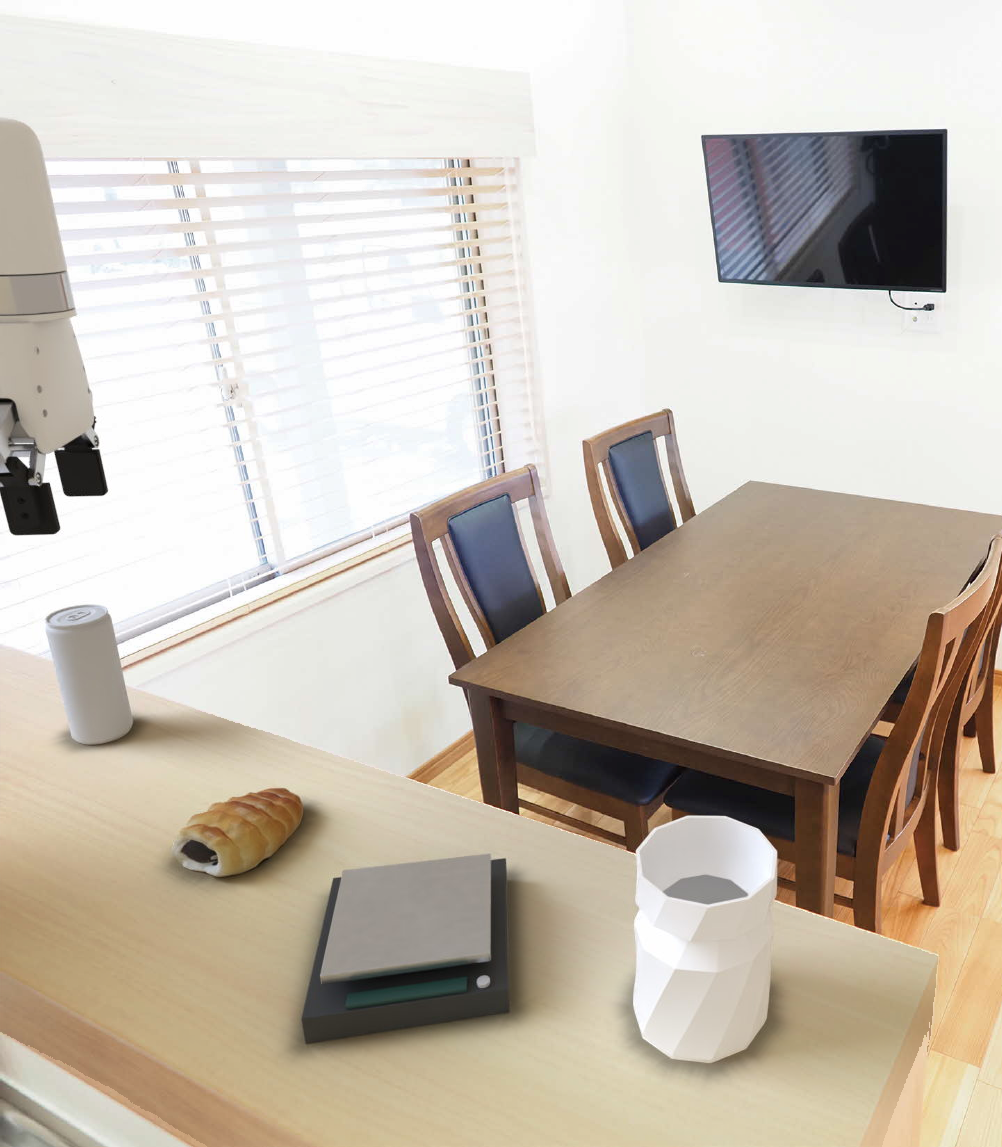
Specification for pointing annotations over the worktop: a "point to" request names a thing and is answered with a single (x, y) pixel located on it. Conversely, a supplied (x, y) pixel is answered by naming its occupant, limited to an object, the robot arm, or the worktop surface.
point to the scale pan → (410, 919)
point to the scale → (411, 985)
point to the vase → (703, 936)
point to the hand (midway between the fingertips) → (62, 513)
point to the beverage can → (89, 673)
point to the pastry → (238, 832)
